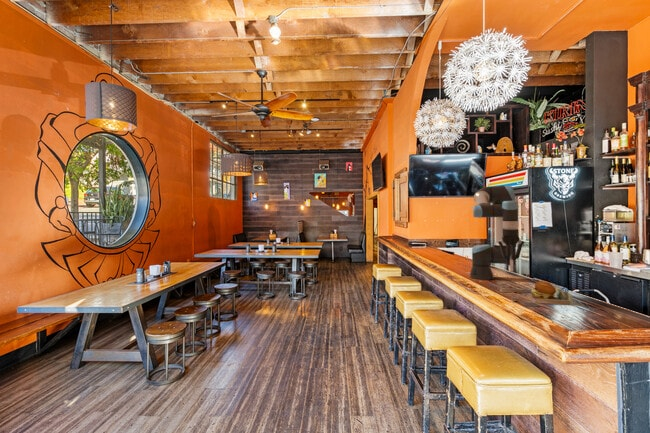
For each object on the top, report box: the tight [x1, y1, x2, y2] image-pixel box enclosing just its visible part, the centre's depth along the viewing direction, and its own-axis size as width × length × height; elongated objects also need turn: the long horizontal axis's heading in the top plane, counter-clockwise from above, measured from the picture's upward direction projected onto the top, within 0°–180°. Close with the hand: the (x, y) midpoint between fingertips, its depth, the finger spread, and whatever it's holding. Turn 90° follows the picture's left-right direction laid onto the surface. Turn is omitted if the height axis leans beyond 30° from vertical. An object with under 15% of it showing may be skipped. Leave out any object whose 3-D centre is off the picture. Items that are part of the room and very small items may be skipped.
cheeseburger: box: [531, 280, 556, 300], centre depth 163 cm, size 10×11×10 cm
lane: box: [500, 284, 573, 306], centre depth 164 cm, size 21×26×5 cm
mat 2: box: [522, 301, 540, 308], centre depth 152 cm, size 6×7×1 cm
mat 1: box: [522, 289, 532, 294], centre depth 177 cm, size 6×7×1 cm
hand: (511, 270), depth 168 cm, fingers closed
